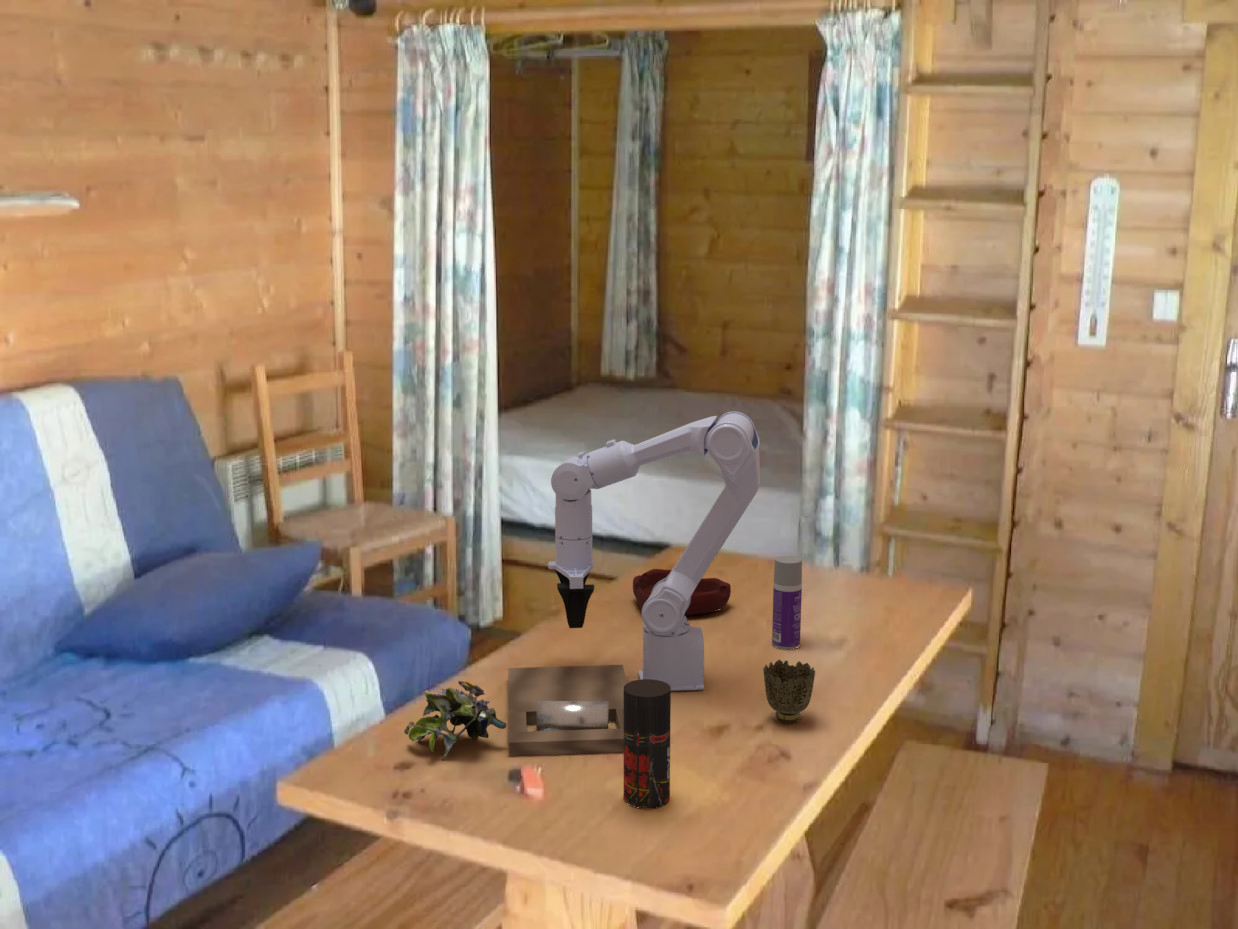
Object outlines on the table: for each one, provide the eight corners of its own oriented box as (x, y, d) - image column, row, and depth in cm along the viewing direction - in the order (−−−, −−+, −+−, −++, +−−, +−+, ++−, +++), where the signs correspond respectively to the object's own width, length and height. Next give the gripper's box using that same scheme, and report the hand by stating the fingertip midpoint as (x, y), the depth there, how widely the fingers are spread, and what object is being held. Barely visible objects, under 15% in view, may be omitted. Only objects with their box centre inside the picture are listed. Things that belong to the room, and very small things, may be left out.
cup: (818, 714, 202) (819, 662, 200) (808, 733, 195) (809, 680, 193) (768, 707, 204) (769, 656, 202) (756, 726, 197) (758, 674, 195)
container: (798, 650, 227) (801, 564, 224) (770, 648, 228) (772, 562, 225) (801, 641, 232) (803, 556, 228) (773, 639, 233) (775, 554, 229)
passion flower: (473, 775, 194) (522, 712, 192) (441, 794, 184) (492, 728, 181) (415, 722, 197) (463, 659, 194) (381, 738, 186) (430, 672, 184)
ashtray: (606, 613, 247) (606, 587, 246) (656, 590, 260) (656, 565, 259) (690, 633, 237) (690, 605, 236) (737, 608, 250) (738, 581, 249)
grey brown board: (622, 676, 216) (622, 664, 216) (640, 751, 189) (640, 738, 188) (508, 680, 215) (508, 668, 214) (509, 756, 187) (508, 742, 187)
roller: (608, 727, 197) (608, 695, 196) (607, 743, 192) (607, 711, 191) (539, 726, 197) (538, 695, 196) (536, 743, 192) (536, 710, 191)
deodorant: (621, 788, 178) (621, 680, 175) (667, 787, 178) (667, 678, 175) (625, 810, 172) (625, 697, 169) (672, 808, 173) (673, 696, 169)
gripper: (546, 523, 218) (547, 605, 221) (549, 549, 204) (550, 635, 207) (590, 522, 219) (591, 603, 222) (596, 548, 205) (597, 634, 208)
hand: (574, 619), depth 214 cm, fingers open, 7 cm apart
